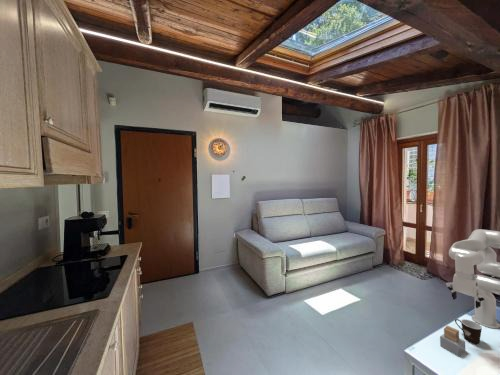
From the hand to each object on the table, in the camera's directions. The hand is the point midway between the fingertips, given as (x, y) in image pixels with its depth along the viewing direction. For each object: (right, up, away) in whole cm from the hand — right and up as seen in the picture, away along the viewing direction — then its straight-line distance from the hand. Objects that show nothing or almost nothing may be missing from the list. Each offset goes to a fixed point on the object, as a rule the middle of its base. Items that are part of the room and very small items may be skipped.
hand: (465, 302), depth 120 cm
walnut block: (-9, -20, -1) cm, 22 cm away
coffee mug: (+8, -25, +6) cm, 27 cm away
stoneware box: (-9, -26, -1) cm, 28 cm away
